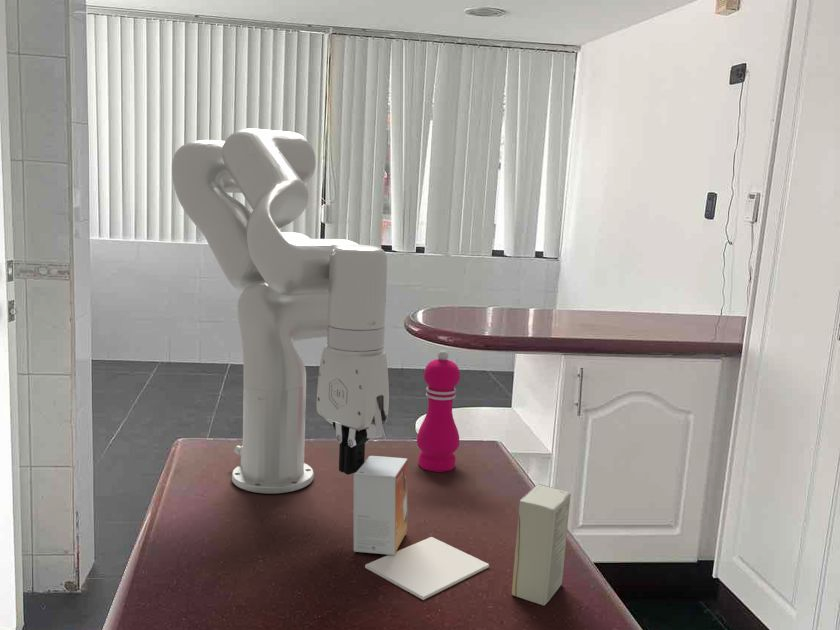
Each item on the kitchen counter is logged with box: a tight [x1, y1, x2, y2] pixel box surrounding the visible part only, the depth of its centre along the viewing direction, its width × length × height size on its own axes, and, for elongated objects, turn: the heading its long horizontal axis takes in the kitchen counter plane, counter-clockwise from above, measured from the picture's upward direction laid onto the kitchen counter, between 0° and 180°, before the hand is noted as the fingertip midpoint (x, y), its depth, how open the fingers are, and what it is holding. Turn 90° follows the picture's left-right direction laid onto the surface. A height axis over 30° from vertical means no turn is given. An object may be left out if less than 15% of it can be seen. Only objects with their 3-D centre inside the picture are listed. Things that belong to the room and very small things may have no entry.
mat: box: [364, 536, 490, 601], centre depth 99 cm, size 10×12×1 cm
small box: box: [352, 455, 409, 556], centre depth 104 cm, size 8×6×10 cm
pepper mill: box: [416, 349, 461, 473], centre depth 132 cm, size 7×7×20 cm
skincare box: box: [511, 483, 572, 606], centre depth 94 cm, size 6×4×12 cm
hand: (351, 470), depth 108 cm, fingers closed
